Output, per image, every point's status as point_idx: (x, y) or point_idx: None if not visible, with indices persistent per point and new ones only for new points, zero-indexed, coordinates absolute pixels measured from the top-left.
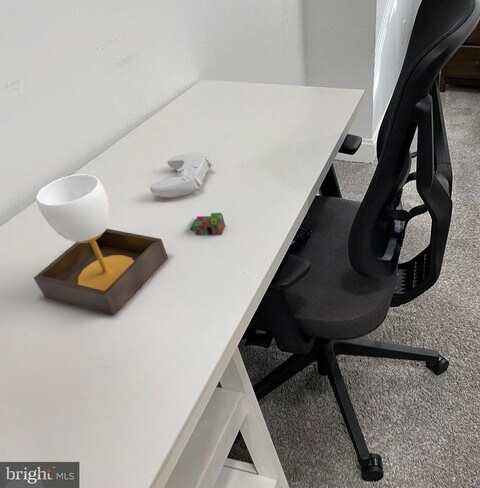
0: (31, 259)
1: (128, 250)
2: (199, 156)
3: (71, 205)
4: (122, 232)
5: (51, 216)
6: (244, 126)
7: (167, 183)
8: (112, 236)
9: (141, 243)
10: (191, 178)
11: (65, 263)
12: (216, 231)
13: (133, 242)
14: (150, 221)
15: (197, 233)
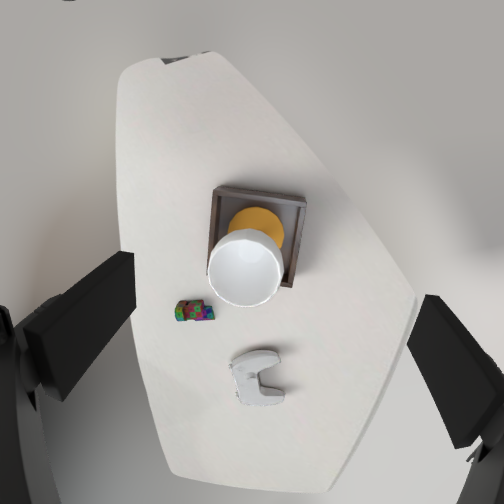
0: (355, 247)
1: None
2: (247, 400)
3: (219, 245)
4: None
5: (246, 232)
6: (246, 445)
7: (258, 362)
8: None
9: None
10: (234, 368)
11: (295, 233)
12: (181, 303)
13: None
14: (261, 315)
15: (200, 300)
